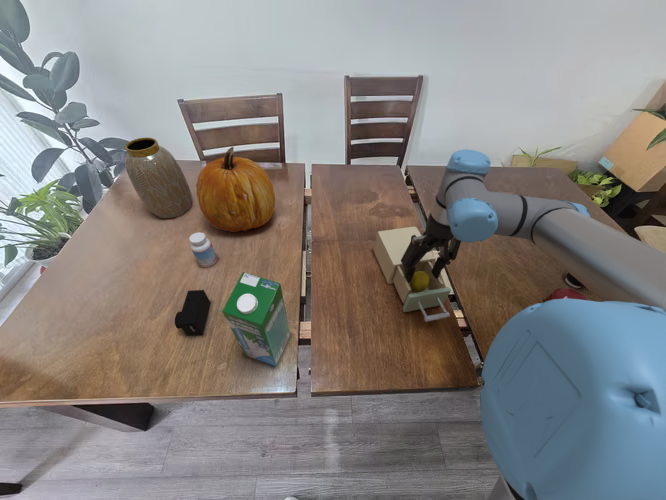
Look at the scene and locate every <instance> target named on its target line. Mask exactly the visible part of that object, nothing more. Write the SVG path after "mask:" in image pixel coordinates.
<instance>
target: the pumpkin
mask: <svg viewBox="0 0 666 500" xmlns="http://www.w3.org/2000/svg"><path fill="white" fill-rule="evenodd" d="M196 197H197V202H198V204H199V208H200V211H201V213H202V215H203V216H204V217H205V219H206V220H207V221H208V222H209V223H210V225H212V226H214V227H215V228H216V229H218V230H221V231H226V232H232V233H238V232H240V231H248V230H250V229H256V228H257V229H258V228H259V227H262V226H264V225H265V224H267V223H268V221H269V220H270V219H271V218H272V217H273V215H274V212H275V205H276V204H275V203H276V195H275V190H274V186H273V183H272V181H271V179H270V176H269V174H268V173H267V172H266V170H264V169H263V167H262V166H260V165H259V164H258V163H257V162H256V161H254V160H251V159H250V158H246V157H243V156H241V157H240V156H235V152H234V146H231V147H230V148H228V150H227V151H226V152H225V154H224V157H219V158H217V159H215V160H212V161H209V162H208V163H206V165H205V166H203V168H202V169H201V170H200V172H199V173H198V176H197V180H196Z"/></svg>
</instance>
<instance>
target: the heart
mask: <svg viewBox="0 0 666 500" xmlns="http://www.w3.org/2000/svg"><path fill="white" fill-rule="evenodd" d="M553 299H580V300H588V301H591V300H590V299H589V298H588V297H586V296H585V295H583V294H582V293H580V292H578V291H576V290H574V289H571V288H566V287H559V288H556V289H555V290H553V291H552V292H551V293H550V294H549V295H548V297H547V299H546V301H545V302H547V301H549V300H553Z"/></svg>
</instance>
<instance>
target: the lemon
mask: <svg viewBox="0 0 666 500" xmlns="http://www.w3.org/2000/svg"><path fill="white" fill-rule="evenodd" d="M428 285H429V276H428V274H427V273H425V272H424V271H417V272H415V273H414V275H413V278H412V280H411V283H410V286H411V288H412V289H413V290H414V291H417V292H421V291H424V290H425V289H426V288H427V287H428Z"/></svg>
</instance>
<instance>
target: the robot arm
mask: <svg viewBox="0 0 666 500" xmlns="http://www.w3.org/2000/svg"><path fill="white" fill-rule="evenodd" d="M490 167H491V159H490V158H489V156H487V154H485V153H483V152H481V151H479V150H475V149H467V148H465V149H464V148H463V149H458V150H456V151H455V152H453V153H452V154H451V156H450V159H449V160H448V162H447V165H446V166H445V170H444V173H443V176H442V179H441V182H440V185H439V187H438V191H437V193H436V196H435V198H434V201H433V204H432V207H431V210H430V213H429V215H428V218H427V220H426V224H425V230H424V231H423V233H421V236H418V237H416V235H412V236H411V242H410V244H409V246H408V248H407V250H406V251H405V253H404V255H403V257H402V259H401V262H402V264H403V266H404V268H405V278H406V280H407V282H408V283H411V280H412V278H413V275H414V272H415V270H416V268H415V265H416V264H417V263H418V262H419V261H420V260H421V259H422V258H423V257H424V255H425V254H426V253H427V252H430V251H431V252H432V250H433V249H435V248H439V251H440V256H437V258H436V259H435V261H434V263H433V269H432V271H431V272H432V274H433V276H434V277H435V279H437V278H438V277H440V274H441V273H442V271H443V269H445V267H446V266H449V265H450V264H451V261H455V260H456V259H457V257H458V253H459V251H460V250H459V249H460V248H461V247H460V246H461V243H462V242H463V243H469V244H473V243H475V242H483V241H487V239H490V238H491V237H492V236H494V235H495V236H496V235H497V236H503V237H510V238H516V239H517V238H518V239H524V240H528V241H530V242H531V243H532V244H533V245H535V246H536V247H538V248H539V249H540V250H541V251H542V252H544V253H545V254H546V255H547V256H549V258H551V259H552V260H553V261H554V262H556V263H557V264H558V265H559V266H560V267H562V269H564V270H565V271H566V272H567V273H570V274H571V275H572V276H574V277H575V278H576V279H577V280H578V281H579V282H581V283H582V284H583V285H584V286H583V287H585V288H586V289H588V290H589V291H590V292H591V293H593V295H595V296H596V297H597V298H598V299H600V300H601V301H596V300H590V301H588V300H580V299H553V300H549V301H547V300H546V301H547V302H546V301H544V302H539V303H535V304H533V305H529V306H527V307H526V308H524V309H522V310H520V311H519V312H517V313H515V314H513V316H512V317H510V319H508V321H506V322H505V324H504V325H503V326H502V327H501V328H500V329H499V331H498V332H497V334H496V336H495V337H494V338H493V340H492V343H491V344H490V346H489V349H488V351H487V353H486V356H485V359H484V363H483V365H482V371H481V378H482V379H483V380H484V385H483V388H482V389H480V390H479V413H480V421H481V426H482V431H483V435H484V440H485V442H486V445H487V448H488V450H489V453H490V455H491V458H492V460H493V462H494V463H495V465H496V468H497V471H498V474H499V476H498V478H497V480H496V482H495V484H494V485H493V488H492V489H491V491H490V493H489V495H488V497H487V499H486V500H666V252H664V251H663V250H660V249H658V248H656V247H654V246H652V245H649V244H647V243H645V242H644V241H641V240H639V239H637V238H635V237H633V236H630V235H628V234H626V233H624V232H622V231H620V230H618V229H616V228H614V227H611V226H609V225H607V224H605V223H603V222H601V221H598V220H597V219H594V218H592V217H591V214H590V212H588V208H587V207H586V206H584V205H583V204H581V203H578V202H572V201H568V200H565V199H551V198H543V197H537V196H536V197H534V196H528V195H527V196H526V195H520V194H513V193H506V192H499V191H491V190H488V188H487V186H486V183H485V178H486V176H487V175H488V173H489V169H490Z"/></svg>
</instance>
